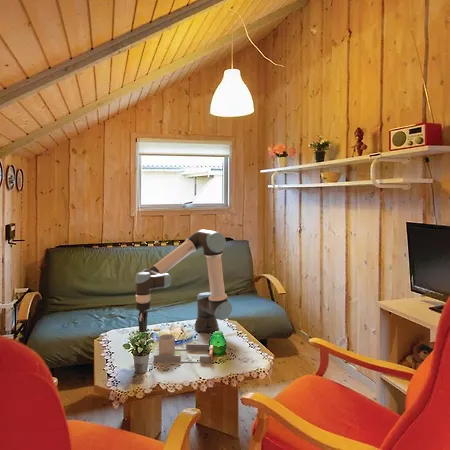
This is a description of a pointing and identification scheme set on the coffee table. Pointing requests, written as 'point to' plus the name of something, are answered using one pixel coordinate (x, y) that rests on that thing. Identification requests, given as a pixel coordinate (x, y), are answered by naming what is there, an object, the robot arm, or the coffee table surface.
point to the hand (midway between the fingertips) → (143, 344)
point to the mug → (167, 344)
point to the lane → (188, 347)
